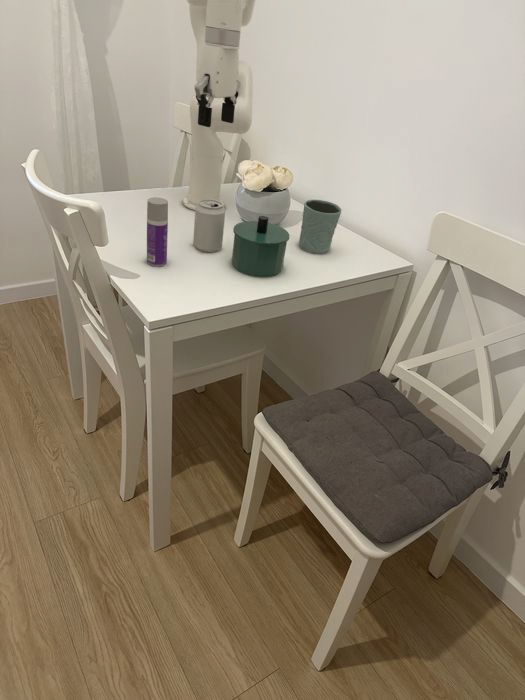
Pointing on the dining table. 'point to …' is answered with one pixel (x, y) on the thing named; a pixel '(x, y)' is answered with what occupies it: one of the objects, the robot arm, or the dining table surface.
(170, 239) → the dining table surface
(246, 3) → the robot arm
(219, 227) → the can
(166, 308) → the dining table surface
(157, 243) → the container
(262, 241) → the pot lid
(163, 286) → the dining table surface
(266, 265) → the pot
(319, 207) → the green textured cup
